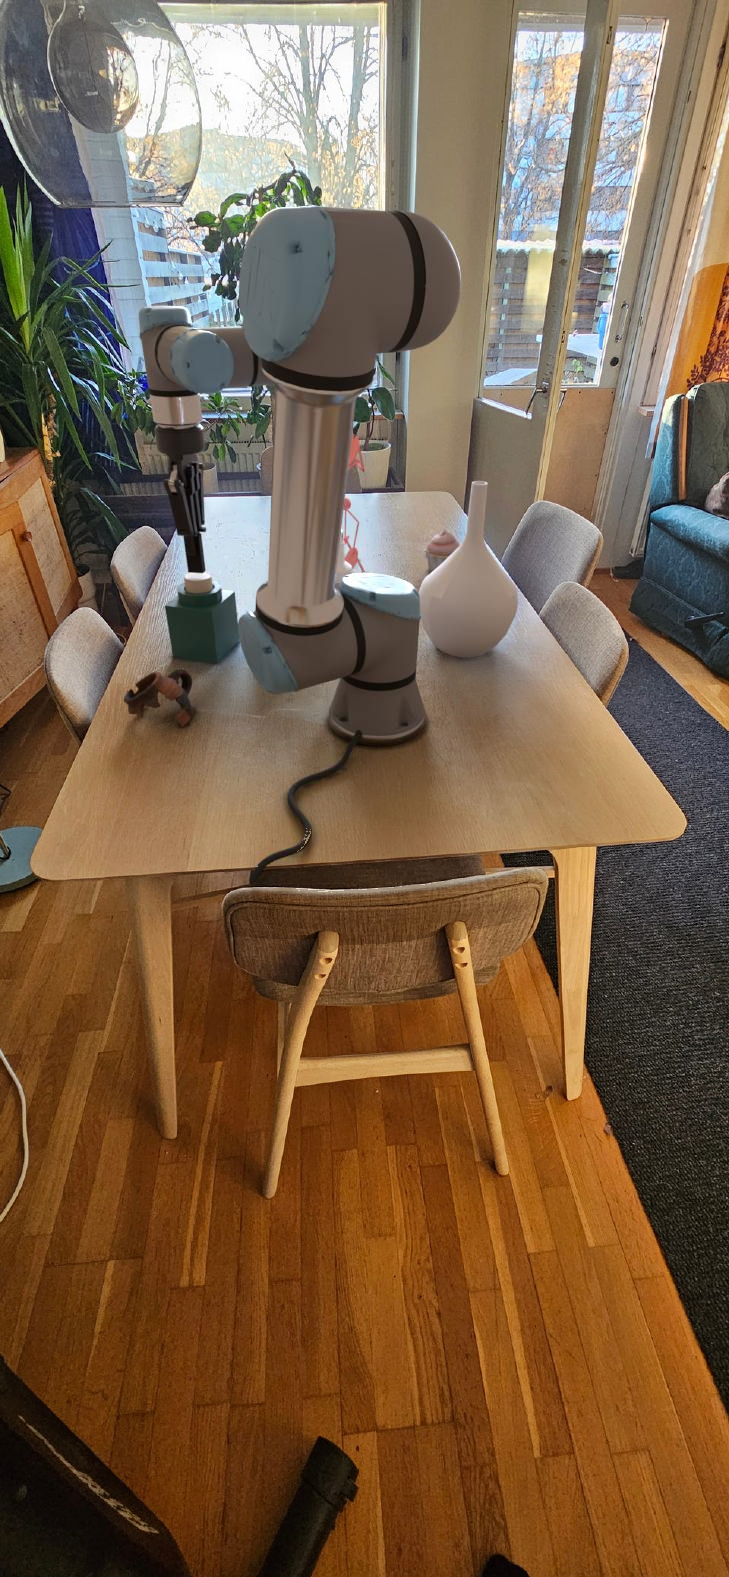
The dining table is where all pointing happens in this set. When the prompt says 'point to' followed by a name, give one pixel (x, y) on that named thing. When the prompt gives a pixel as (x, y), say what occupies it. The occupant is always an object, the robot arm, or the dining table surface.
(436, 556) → the cupcake
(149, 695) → the brown jagged looped figure
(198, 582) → the beige cylinder
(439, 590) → the vase
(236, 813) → the dining table surface
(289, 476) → the robot arm
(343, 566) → the white bottle
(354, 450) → the figurine
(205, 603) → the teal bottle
